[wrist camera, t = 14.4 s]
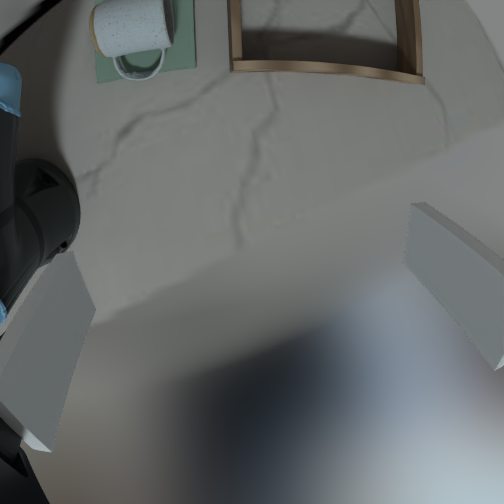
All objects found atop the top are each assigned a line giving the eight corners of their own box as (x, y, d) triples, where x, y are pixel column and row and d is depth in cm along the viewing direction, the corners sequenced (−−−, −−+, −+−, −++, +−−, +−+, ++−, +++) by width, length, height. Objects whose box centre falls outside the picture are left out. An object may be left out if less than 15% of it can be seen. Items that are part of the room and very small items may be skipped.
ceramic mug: (104, 10, 25) (83, -4, 19) (171, -6, 26) (164, -26, 19) (113, 87, 31) (92, 89, 24) (180, 73, 31) (174, 69, 25)
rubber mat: (99, 83, 31) (97, 83, 30) (97, -1, 25) (94, -3, 24) (196, 67, 32) (195, 67, 31) (192, -19, 26) (192, -21, 25)
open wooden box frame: (230, 72, 33) (233, 69, 29) (225, -45, 25) (228, -61, 20) (403, 82, 35) (424, 84, 31) (397, -21, 27) (417, -29, 23)
